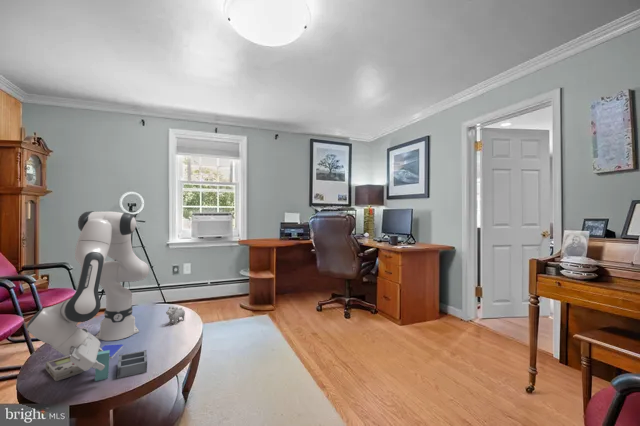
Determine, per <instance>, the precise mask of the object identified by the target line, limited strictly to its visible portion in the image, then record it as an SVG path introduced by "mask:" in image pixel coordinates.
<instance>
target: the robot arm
mask: <svg viewBox="0 0 640 426" xmlns="http://www.w3.org/2000/svg"><path fill="white" fill-rule="evenodd" d="M77 226H78V229H79V231H80V234H79V236H78V238H77V242H76V246H75V250H74V251H75V252H74V260H75V261H76V262H77V263H78V264H79V265H80V274H79V277H78V283H77V288H76V291H75V293H74V294H73V295H72V297H71V298H68V299H66V300H63V301H61V302H59V303H56V304H53V305H51V306H48V307H42V308H41V309H39V311H38V310H37V312H36V313H35V314H34V315H33V316H32V317H31V319H30V320H29V321H28V323H27V324H26V329H27V331H28V332H29V334H31V335H32V336H33V337H35V338H36V339H37V340H39V341H41V342H42V343H44V344H48V345H50V346H51V347H52V349H54V350H55V351H57V352H58V353H60V354H62V356H64V357H65V356H69V355H70V360H71V361H72V362H73V363H74V364H75V365H77V366H78V367H79V368H81V369H82V370H84V372H86V371H87V372H88V371H89V369H91V368H93V369H95V370H96V369H99V370H100V371H101V370H103V369H104V368H105V364H103V363H99V362H98V361H97V360H96V358H97V354H98V352H101V351H103V350H102V349H101V348H102V347H101V341H100V340H102V341H106V342H107V341H109V342H110V341H118V340H122V339H125V338H128V337H131V336H132V335H135V334H137V333H140V330H139V329H138V327H137V326H136V317H135V316H134V315H133V306H132V305H133V303H132V302H133V293H132V291H131V290H130V288H129V289H128V288H126V287H124V286H123V285H122V283H126V282H128V283H131V282H139V281H143V280H145V279H146V278H147V277H148V275H149V273H150V267H149V264H148V263H147V262H145V261H144V260H142V259H140V258H139V257H138V256H137V255H136V254H135V252H134V250H133V244H132V235H131V234H132V233H134V232H135V230H136V227H137V219H136V217H135V216H134V215H133V213H128V212H119V211H93V210H91V211H85V212H83V213H82V214H80V216H79V218H78V220H77ZM107 257H108V258H109V259H112V260H107ZM99 286H101V287H102V289H103V291H104V293H105V299H106V300H105V304H106V305H105V309H104V318H103V319H102V320H101V321H100V326H99V332H98V333H97V334H96V335H93V334H92V333H91V332H89V329H87V328H85V327H83V328H80V327H78V326H77V324H79V323H85V322H89V321H90V320H92V319H93V318H95V316H97V315H98V313H99V312H100V309H101V299H100V294H99V288H100V287H99Z"/></svg>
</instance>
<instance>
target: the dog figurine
mask: <svg viewBox="0 0 640 426" xmlns="http://www.w3.org/2000/svg"><path fill="white" fill-rule="evenodd" d="M165 312H166V315H168V319H169V321H168V325H171V324H172V321H173V322H174V324H173V325H174V326H176V325H177V324H178V321H180V318H182V322H185V315H186V312H185V310H184V309H183V307H179V308H178V307H177V306H176V307H174V306H169V307H168V309H167V311H165ZM177 320H178V321H177Z"/></svg>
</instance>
